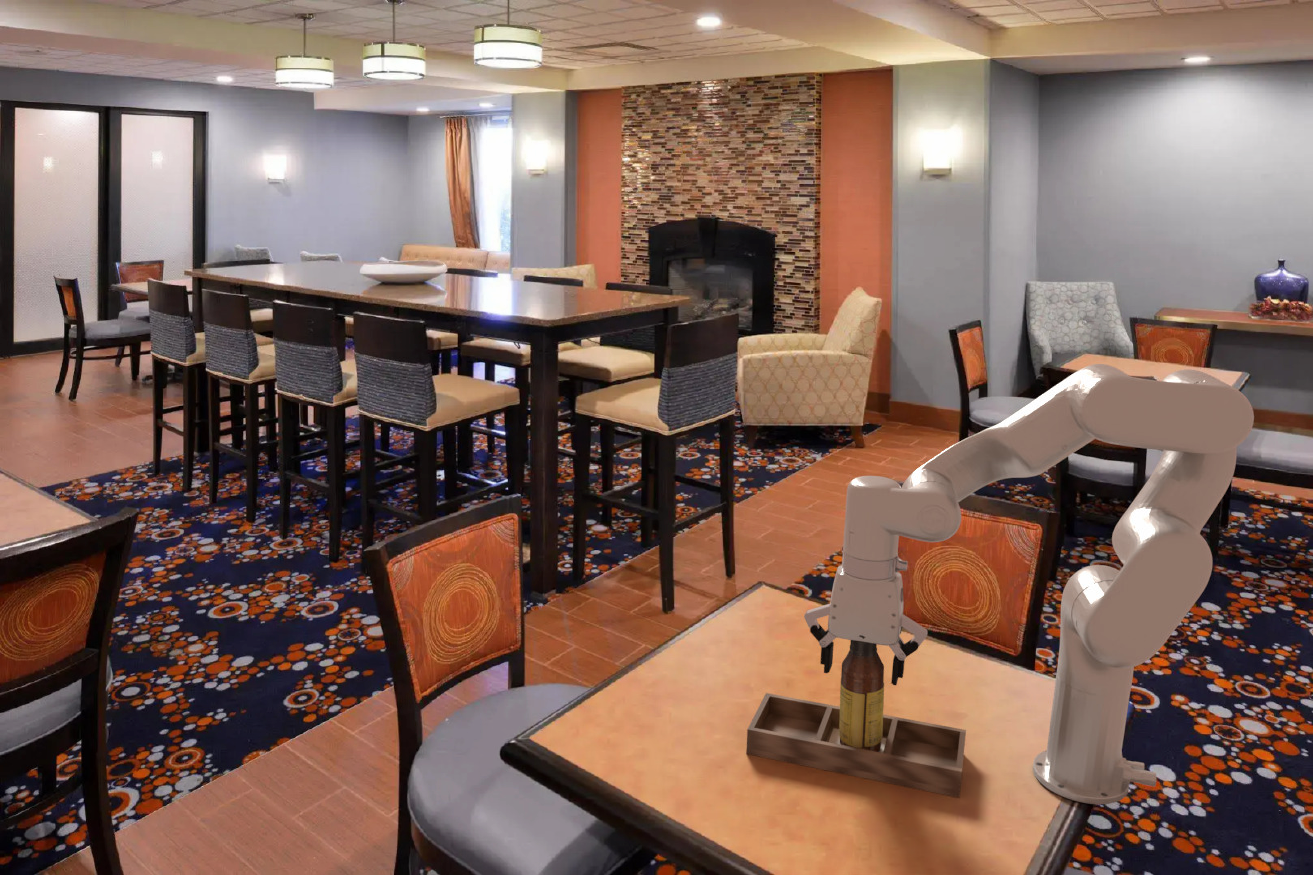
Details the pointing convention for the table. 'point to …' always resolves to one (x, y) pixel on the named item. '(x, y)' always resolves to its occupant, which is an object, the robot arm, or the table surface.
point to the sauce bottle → (862, 697)
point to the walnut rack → (814, 741)
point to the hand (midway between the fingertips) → (861, 674)
